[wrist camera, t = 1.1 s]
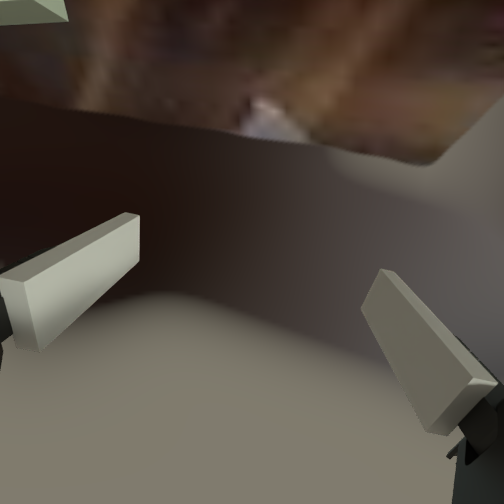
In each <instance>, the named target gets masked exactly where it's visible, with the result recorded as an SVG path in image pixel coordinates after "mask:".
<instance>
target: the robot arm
mask: <svg viewBox="0 0 504 504" xmlns="http://www.w3.org/2000/svg"><path fill="white" fill-rule="evenodd" d="M139 219H140V216H139V215H135V214H130V213H126V212H125V213H123V214H121V215H119V216H117V217H115V218H113V219H111V220H109V221H107V222H105V223H103V224H101V225H99V226H97V227H95V228H93V229H91V230H89V231H87V232H85V233H83V234H81V235H79V236H77V237H75V238H73V239H71V240H69V241H67V242H65V243H63V244H61V245H59V246H54V247H50V248H46V249H42V250H39V251H37V252H35V253H33V254H31V255H29V256H28V257H27V258H26V257H24V258H22V259H20V260H18V261H17V263H15V262H14V263H12V264H10V265H8V266H6V267H4V268H1V269H0V369H1V362H2V355H3V348H2V345H1V342H3V341H4V340H5V339H7V338H8V337H9V336H11V335H12V334H13V338H14V341H15V345H16V348H20V349H25V350H29V351H34V352H41V351H42V350H43V349H44V348H45V347H46V346H47V345H49V344H50V343H51V341H53V340H54V339H55V338H56V337H57V336H58V335H59V334H60V333H61V332H63V331H64V330H65V329H66V328H67V327H68V326H69V325H70V324H71V323H72V322H74V321H75V320H76V319H77V318H78V317H79V316H80V315H81V314H82V313H83V312H84V311H85V310H86V309H88V308H89V307H90V306H91V305H92V304H93V303H94V302H95V301H96V300H97V299H98V298H99V297H100V296H102V295H103V294H104V293H105V292H106V291H107V290H108V289H109V288H110V287H112V286H113V285H114V284H115V283H116V282H117V281H118V280H119V279H120V278H121V277H122V276H123V275H125V274H126V273H127V272H128V271H129V270H130V269H131V268H132V267H133V266H134V265H135V264H136V263H137V262H139V226H140V220H139ZM361 311H362V313H363V315H364V317H365V318H366V320H367V322H368V324H369V326H370V328H371V330H372V331H373V333H374V335H375V337H376V339H377V341H378V343H379V345H380V347H381V349H382V351H383V352H384V354H385V356H386V358H387V360H388V362H389V364H390V366H391V368H392V369H393V371H394V373H395V375H396V377H397V379H398V381H399V383H400V385H401V386H402V388H403V390H404V392H405V394H406V396H407V398H408V400H409V402H410V403H411V405H412V407H413V409H414V411H415V413H416V415H417V416H418V419H419V420H420V422H421V424H422V426H423V428H424V430H425V432H429V433H434V434H438V435H443V436H448V435H449V434H450V433H451V432H452V431H453V430H454V429H455V428H456V426H459V428H460V429H461V431H462V432H463V434H464V435H465V437H464V438H463V439H462V440H461V441H460V442H459V443H458V444H457V445H456V446H455V447H454V448H453V449H451V450H450V451H449V452H448V454H447V456H446V457H447V458H449V459H451V458H452V457H453V456H457V463H456V472H455V480H454V489H453V498H452V504H504V385H503V384H502V383H501V382H500V381H499V380H498V379H497V378H496V377H495V376H494V375H493V374H492V373H491V372H490V370H489V369H488V368H487V367H486V366H485V365H484V364H483V363H482V362H481V361H478V358H477V357H476V356H475V355H474V354H473V353H472V352H470V349H469V348H468V347H467V346H466V345H465V344H464V343H463V342H462V341H461V340H460V339H459V338H458V337H456V336H455V335H454V334H452V333H451V332H450V331H449V330H448V329H447V328H446V327H445V326H444V324H443V323H442V322H441V321H440V320H439V319H438V318H437V317H436V316H435V315H434V314H433V313H432V312H431V311H430V309H429V308H428V307H426V305H425V304H424V303H423V302H422V301H421V300H420V299H419V298H418V297H417V296H416V295H415V293H414V292H413V291H412V290H411V289H410V288H409V287H408V286H407V285H406V284H405V283H404V282H403V281H402V279H401V278H400V277H399V276H398V275H397V274H396V273H395V272H393V271H389V270H384V269H380V271H379V273H378V275H377V277H376V279H375V281H374V283H373V285H372V287H371V289H370V291H369V293H368V295H367V297H366V299H365V301H364V303H363V305H362V307H361Z"/></svg>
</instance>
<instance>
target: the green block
mask: <svg viewBox="0 0 504 504" xmlns="http://www.w3.org/2000/svg"><path fill="white" fill-rule="evenodd" d="M54 22H69V21H68V17H67V13H66V9H65V5H64V0H0V26H1V25H19V24H36V23H54Z"/></svg>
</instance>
